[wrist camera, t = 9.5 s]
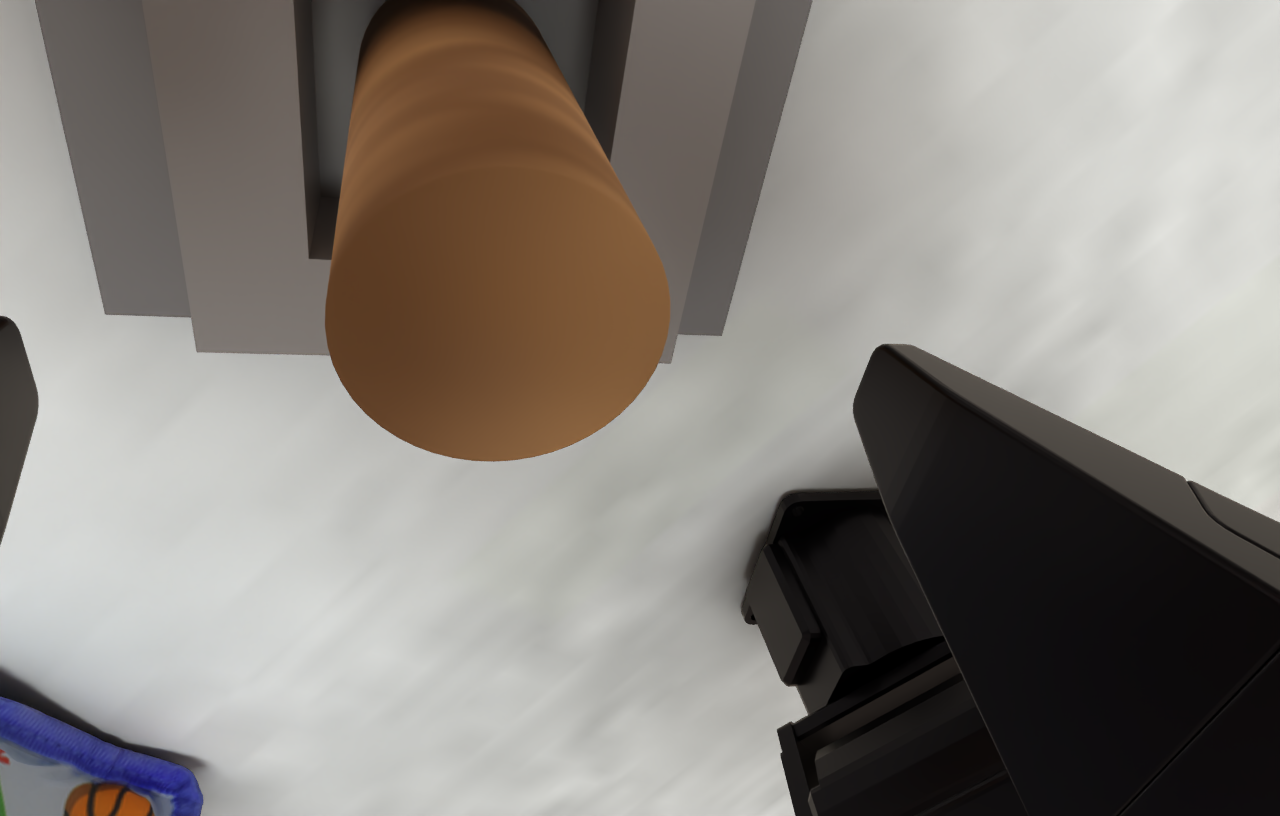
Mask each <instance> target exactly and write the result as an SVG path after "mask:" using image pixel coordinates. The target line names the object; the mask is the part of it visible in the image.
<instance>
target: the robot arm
mask: <svg viewBox="0 0 1280 816" xmlns="http://www.w3.org/2000/svg"><path fill="white" fill-rule="evenodd" d="M37 414H38V392H37V388H36V384H35V381H34V378H33V374H32V371H31V367H30V364H29V361H28V357H27V354H26V351H25V347H24V344H23V341H22V337H21V334H20V331H19V329H18V328H17V326H16V324H15V323H14V322H13V321H12V320H11V319H9V318H8V317H5V316H0V545H1V542H2V538H3V535H4V532H5V529H6V526H7V522H8V518H9V515H10V511H11V508H12V504H13V501H14V497H15V493H16V490H17V486H18V483H19V479H20V476H21V472H22V469H23V465H24V461H25V458H26V454H27V451H28V447H29V444H30V440H31V436H32V433H33V429H34V426H35V422H36V419H37ZM853 414H854V419H855V422H856V425H857V428H858V431H859V434H860V437H861V440H862V443H863V446H864V449H865V452H866V454H867V457H868V460H869V463H870V466H871V469H872V472H873V475H874V478H875V481H876V483H877V486H878V489H879V491H877V492H836V493H797V494H791V495H789V496H787V497H786V498H785V499H784V500H782V502H781V504H780V506H779V509H778V511H777V514H776V517H775V520H774V522H773V525H772V528H771V530H770V533H769V536H768V539H767V541H766V544H765V546H764V548H763V549H762V550H761V553H760V556H759V558H758V561H757V564H756V567H755V569H754V572H753V575H752V578H751V580H750V583H749V586H748V588H747V591H746V598H745V601H744V604H743V607H742V611H741V612H742V615H743V617H744V620H745V622H746V623H748V624H752V625H755V624H758V626H759V628H760V631H761V633H762V636H763V638H764V640H765V643H766V645H767V648H768V650H769V652H770V655H771V657H772V659H773V662H774V664H775V667H776V669H777V671H778V674H779V676H780V679H781V681H782V682H783V683H784V684H785V685H786V686H788V687H791V686H796V687H797V690H798V692H799V694H800V696H801V699H802V701H803V703H804V706H805V708H806V710H807V713H808V716H806V717H804V718H802V719H800V720H799V721H797V722H795V723H793V722H789V723H787V724H786V725H784V726H782V727H780V728H778V729H777V733H778V737H779V741H780V745H781V749H782V753H781V754H780V755H781V760H782V764H783V768H784V772H785V776H786V780H787V784H788V788H789V792H790V796H791V800H792V804H793V808H794V812H795V815H796V816H1280V522H1277V521H1275V520H1273V519H1271V518H1269V517H1267V516H1264V515H1262V514H1260V513H1258V512H1256V511H1254V510H1252V509H1250V508H1248V507H1245V506H1243V505H1241V504H1239V503H1237V502H1235V501H1233V500H1231V499H1229V498H1226V497H1224V496H1222V495H1220V494H1218V493H1216V492H1214V491H1212V490H1210V489H1208V488H1206V487H1204V486H1202V485H1200V484H1198V483H1195V482H1193V481H1186V480H1185V478H1184V477H1183V476H1181V475H1179V474H1177V473H1175V472H1172V471H1170V470H1168V469H1166V468H1164V467H1162V466H1160V465H1158V464H1156V463H1154V462H1152V461H1150V460H1148V459H1146V458H1144V457H1142V456H1140V455H1137V454H1135V453H1133V452H1131V451H1129V450H1127V449H1125V448H1123V447H1121V446H1119V445H1117V444H1115V443H1113V442H1111V441H1109V440H1107V439H1105V438H1102V437H1100V436H1098V435H1096V434H1094V433H1092V432H1090V431H1088V430H1086V429H1084V428H1082V427H1080V426H1078V425H1076V424H1074V423H1072V422H1070V421H1067V420H1065V419H1063V418H1061V417H1059V416H1057V415H1055V414H1053V413H1051V412H1049V411H1047V410H1045V409H1043V408H1041V407H1039V406H1037V405H1035V404H1032V403H1030V402H1028V401H1026V400H1024V399H1022V398H1020V397H1018V396H1016V395H1014V394H1012V393H1010V392H1008V391H1006V390H1004V389H1002V388H1000V387H997V386H995V385H993V384H991V383H989V382H987V381H985V380H983V379H981V378H979V377H977V376H975V375H973V374H971V373H969V372H967V371H965V370H962V369H960V368H958V367H956V366H954V365H952V364H950V363H948V362H946V361H944V360H942V359H940V358H938V357H936V356H934V355H932V354H929V353H927V352H925V351H923V350H921V349H919V348H917V347H915V346H912V345H907V344H882V345H880V346H879V347H877V348H876V349H875V350H874V352H873V353H872V355H871V358H870V360H869V363H868V365H867V368H866V370H865V373H864V375H863V378H862V380H861V383H860V385H859V388H858V390H857V393H856V395H855V398H854V403H853ZM795 507H796V508H795ZM794 508H795V509H794Z"/></svg>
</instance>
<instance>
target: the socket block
mask: <svg viewBox="0 0 1280 816" xmlns="http://www.w3.org/2000/svg"><path fill="white" fill-rule="evenodd" d="M386 1H387V0H35V3H36V8H37V12H38V17H39V21H40V26H41V30H42V35H43V39H44V44H45V48H46V53H47V57H48V61H49V66H50V70H51V75H52V79H53V84H54V88H55V93H56V97H57V102H58V106H59V110H60V115H61V119H62V124H63V128H64V133H65V137H66V142H67V146H68V151H69V155H70V160H71V164H72V168H73V173H74V177H75V182H76V186H77V191H78V195H79V200H80V204H81V209H82V213H83V218H84V222H85V226H86V231H87V235H88V240H89V244H90V249H91V253H92V258H93V262H94V267H95V271H96V276H97V280H98V284H99V289H100V293H101V298H102V302H103V307H104V311H105V314H107V315H136V316H165V317H191V319H192V325H193V332H194V338H195V344H196V351H197V352H213V353H254V354H296V355H330V353H329V350H328V346H327V339H326V332H325V304H326V297H327V289H328V282H329V274H330V267H331V260H332V252H333V245H334V237H335V230H336V222H337V215H338V207H339V200H340V192H341V185H342V177H343V170H344V163H345V155H346V148H347V140H348V133H349V125H350V118H351V110H352V103H353V95H354V88H355V81H356V73H357V66H358V58H359V52H360V47H361V42H362V39H363V37H364V34H365V31H366V29H367V27H368V25H369V23H370V21H371V19H372V18H373V16H374V15H375V13H376V12H377V10H378V9H379V8H380V7H381V6H382V5H383V4H384V3H385V2H386ZM514 1H515V2H516V3H517V4H518V5H520V6H521V7H522V8H523V9H524V10H525V12H526V13H527V14H528V15H529V16H530V18H531V19H532V20H533V22H534V23H535V25H536V26H537V28H538V29H539V31H540V33H541V35H542V37H543V39H544V41H545V42H546V44H547V46H548V48H549V50H550V52H551V54H552V56H553V57H554V59H555V61H556V63H557V65H558V67H559V69H560V70H561V72H562V74H563V76H564V78H565V80H566V82H567V84H568V85H569V87H570V89H571V91H572V93H573V95H574V97H575V99H576V100H577V102H578V104H579V106H580V108H581V110H582V112H583V114H584V115H585V117H586V119H587V121H588V123H589V125H590V127H591V129H592V130H593V132H594V134H595V136H596V138H597V140H598V142H599V143H600V145H601V147H602V149H603V151H604V153H605V155H606V157H607V158H608V160H609V162H610V164H611V166H612V168H613V170H614V172H615V173H616V175H617V177H618V179H619V181H620V183H621V185H622V187H623V188H624V190H625V192H626V194H627V196H628V198H629V200H630V202H631V203H632V205H633V207H634V209H635V211H636V213H637V215H638V216H639V218H640V220H641V222H642V224H643V226H644V228H645V230H646V231H647V233H648V235H649V237H650V239H651V241H652V243H653V245H654V247H655V249H656V251H657V253H658V255H659V257H660V259H661V261H662V264H663V267H664V270H665V274H666V277H667V280H668V286H669V293H670V323H669V330H668V336H667V340H666V343H665V346H664V350H663V353H662V356H661V358H660V360H659V362H658V363H671V360H672V356H673V352H674V347H675V343H676V339H677V334H684V335H713V336H722V333H723V329H724V326H725V322H726V318H727V315H728V311H729V307H730V303H731V300H732V296H733V292H734V289H735V285H736V281H737V278H738V274H739V270H740V266H741V263H742V259H743V255H744V252H745V248H746V244H747V241H748V237H749V233H750V229H751V226H752V222H753V218H754V215H755V211H756V207H757V204H758V200H759V196H760V193H761V189H762V185H763V181H764V178H765V174H766V170H767V167H768V163H769V159H770V156H771V152H772V148H773V144H774V141H775V137H776V133H777V130H778V126H779V122H780V119H781V115H782V111H783V107H784V104H785V100H786V96H787V93H788V89H789V85H790V82H791V78H792V74H793V71H794V67H795V63H796V59H797V56H798V52H799V48H800V45H801V41H802V37H803V34H804V30H805V26H806V22H807V19H808V15H809V11H810V8H811V4H812V0H514Z"/></svg>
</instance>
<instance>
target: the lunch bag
mask: <svg viewBox="0 0 1280 816" xmlns="http://www.w3.org/2000/svg"><path fill="white" fill-rule="evenodd" d="M202 805H203V795H202V793H201V790H200V788H199V785H198V782H197V780H196V778H195V776H194V774H193V773H192V772H191V771H190V770H189V769H187V768H185V767H183V766H181V765H179V764H175V763H171V762H168V761H165V760H162V759H159V758H155V757H152V756H148V755H145V754H142V753H137V752H134V751H132V750H128V749H123V748H121V747H116V746H115V745H113V744H111V743H107V742H104V741H102V740H100V739H99V738H97V737H94V736H92V735H90V734H88V733H86V732H84V731H82V730H79V729H77V728H75V727H73V726H71V725H69V724H66V723H64V722H62V721H60V720H58V719H55V718H53V717H50V716H48V715H46V714H44V713H42V712H40V711H39V710H36V709H34V708H31V707H29V706H27V705H24V704H21V703H19V702H16V701H13V700H10V699H7V698H3V697H0V816H200V814H201V809H202Z"/></svg>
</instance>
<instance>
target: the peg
mask: <svg viewBox="0 0 1280 816" xmlns="http://www.w3.org/2000/svg"><path fill="white" fill-rule="evenodd" d="M669 323H670V293H669V286H668V280H667V277H666V274H665V270H664V267H663V264H662V261H661V259H660V257H659V255H658V253H657V251H656V249H655V247H654V245H653V243H652V241H651V239H650V237H649V235H648V233H647V231H646V230H645V228H644V226H643V224H642V222H641V220H640V218H639V216H638V215H637V213H636V211H635V209H634V207H633V205H632V203H631V202H630V200H629V198H628V196H627V194H626V192H625V190H624V188H623V187H622V185H621V183H620V181H619V179H618V177H617V175H616V173H615V172H614V170H613V168H612V166H611V164H610V162H609V160H608V158H607V157H606V155H605V153H604V151H603V149H602V147H601V145H600V143H599V142H598V140H597V138H596V136H595V134H594V132H593V130H592V129H591V127H590V125H589V123H588V121H587V119H586V117H585V115H584V114H583V112H582V110H581V108H580V106H579V104H578V102H577V100H576V99H575V97H574V95H573V93H572V91H571V89H570V87H569V85H568V84H567V82H566V80H565V78H564V76H563V74H562V72H561V70H560V69H559V67H558V65H557V63H556V61H555V59H554V57H553V56H552V54H551V52H550V50H549V48H548V46H547V44H546V42H545V41H544V39H543V37H542V35H541V33H540V31H539V29H538V28H537V26H536V25H535V23H534V22H533V20H532V19H531V18H530V16H529V15H528V14H527V13H526V12H525V10H524V9H523V8H522V7H521V6H520V5H518V4H517V3H516V2H515V1H514V0H387V1H386V2H385V3H384V4H383V5H382V6H381V7H380V8H379V9H378V10H377V12H376V13H375V15H374V16H373V18H372V19H371V21H370V23H369V25H368V27H367V29H366V31H365V34H364V37H363V39H362V42H361V47H360V52H359V58H358V66H357V73H356V81H355V88H354V95H353V103H352V110H351V118H350V125H349V133H348V140H347V148H346V155H345V163H344V170H343V177H342V185H341V192H340V200H339V207H338V215H337V222H336V230H335V237H334V245H333V252H332V260H331V267H330V274H329V282H328V289H327V297H326V304H325V332H326V339H327V346H328V350H329V353H330V356H331V360H332V363H333V366H334V368H335V370H336V372H337V374H338V376H339V378H340V380H341V382H342V384H343V385H344V387H345V388H346V390H347V391H348V393H349V394H350V396H351V397H352V399H353V400H354V401H355V402H356V403H357V404H358V406H359V407H360V408H361V409H362V410H363V411H364V412H365V413H366V414H367V415H368V416H369V417H370V418H372V419H373V420H374V421H375V422H376V423H377V424H379V425H380V426H381V427H382V428H384V429H385V430H387V431H389V432H390V433H392V434H393V435H395V436H396V437H398V438H400V439H402V440H404V441H406V442H408V443H410V444H412V445H414V446H416V447H419V448H422V449H424V450H427V451H430V452H433V453H436V454H440V455H444V456H448V457H452V458H458V459H465V460H472V461H508V460H518V459H524V458H530V457H535V456H539V455H543V454H547V453H550V452H554V451H556V450H559V449H562V448H564V447H567V446H570V445H572V444H574V443H576V442H578V441H580V440H582V439H584V438H586V437H588V436H590V435H592V434H593V433H595V432H596V431H598V430H599V429H601V428H603V427H604V426H606V425H607V424H608V423H609V422H611V421H612V420H613V419H614V418H616V417H617V416H618V415H620V414H621V413H622V412H623V411H624V410H625V409H626V408H627V407H628V406H629V405H630V404H631V403H632V402H633V401H634V399H635V398H636V397H637V396H638V394H639V393H640V392H641V391H642V389H643V388H644V387H645V386H646V384H647V382H648V381H649V379H650V377H651V376H652V374H653V373H654V371H655V369H656V367H657V364H658V362H659V360H660V358H661V356H662V353H663V350H664V346H665V343H666V340H667V336H668V330H669Z"/></svg>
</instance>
